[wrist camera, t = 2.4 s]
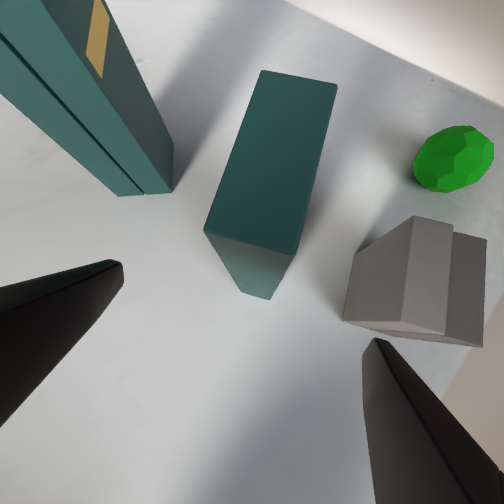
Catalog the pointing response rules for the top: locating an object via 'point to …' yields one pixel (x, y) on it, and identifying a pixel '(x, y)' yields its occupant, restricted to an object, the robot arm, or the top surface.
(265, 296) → the teal book
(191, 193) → the top surface
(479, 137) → the polyhedron
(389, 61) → the top surface
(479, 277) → the grey books
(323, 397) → the top surface
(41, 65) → the teal books
